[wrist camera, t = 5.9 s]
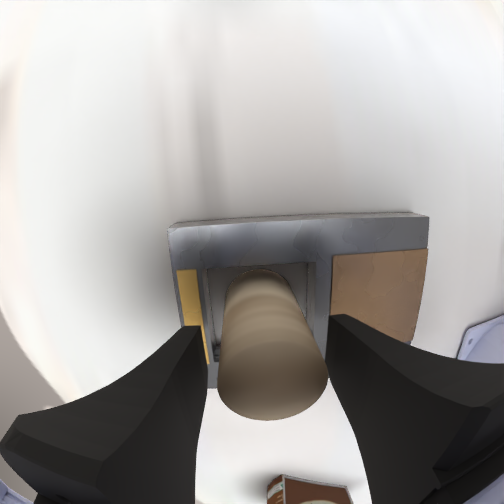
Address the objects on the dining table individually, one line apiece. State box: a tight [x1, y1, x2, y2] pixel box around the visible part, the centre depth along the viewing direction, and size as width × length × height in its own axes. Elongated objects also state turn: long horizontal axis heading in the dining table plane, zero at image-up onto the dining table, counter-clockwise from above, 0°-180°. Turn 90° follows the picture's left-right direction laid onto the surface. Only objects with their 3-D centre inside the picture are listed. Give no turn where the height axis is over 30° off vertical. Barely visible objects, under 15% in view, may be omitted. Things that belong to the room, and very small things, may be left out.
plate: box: [167, 213, 429, 389], centre depth 12 cm, size 8×12×2 cm
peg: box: [217, 269, 328, 421], centre depth 10 cm, size 3×3×6 cm
